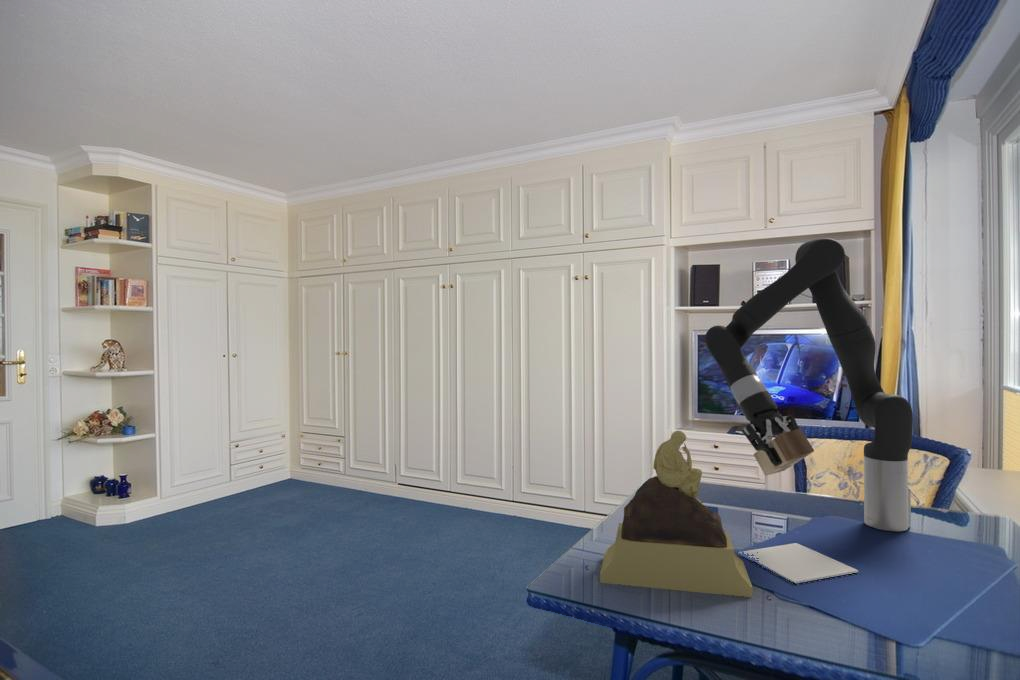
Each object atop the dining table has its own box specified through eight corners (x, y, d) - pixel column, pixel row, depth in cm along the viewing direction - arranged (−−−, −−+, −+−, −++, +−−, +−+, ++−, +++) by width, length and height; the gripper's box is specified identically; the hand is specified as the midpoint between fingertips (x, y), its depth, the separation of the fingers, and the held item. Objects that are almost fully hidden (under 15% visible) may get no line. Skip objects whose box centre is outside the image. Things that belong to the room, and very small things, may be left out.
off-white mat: (796, 545, 130) (796, 542, 130) (858, 573, 115) (858, 570, 115) (738, 554, 125) (738, 552, 125) (795, 584, 110) (795, 581, 110)
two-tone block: (772, 449, 139) (800, 428, 129) (784, 470, 136) (814, 451, 126) (753, 454, 137) (781, 433, 127) (765, 476, 134) (794, 456, 125)
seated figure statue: (742, 570, 118) (741, 425, 117) (752, 598, 105) (750, 436, 105) (605, 558, 125) (604, 422, 125) (600, 583, 112) (598, 432, 112)
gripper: (736, 395, 133) (773, 462, 125) (785, 385, 138) (824, 448, 129) (721, 410, 139) (756, 474, 131) (768, 399, 144) (804, 461, 135)
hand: (789, 461), depth 130 cm, fingers closed on two-tone block, 5 cm apart
